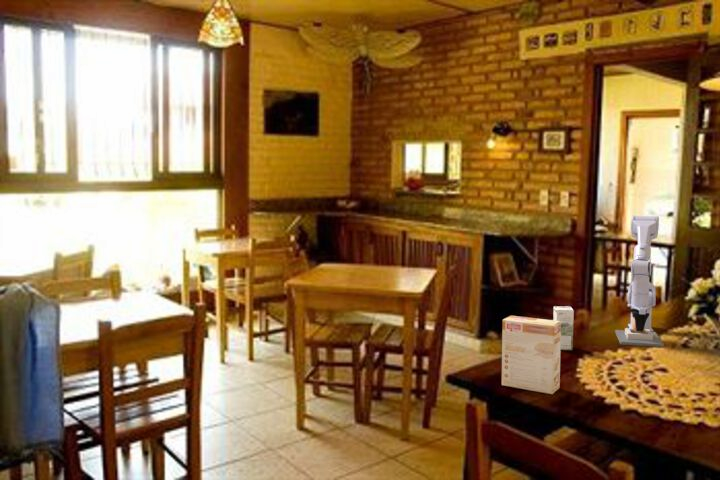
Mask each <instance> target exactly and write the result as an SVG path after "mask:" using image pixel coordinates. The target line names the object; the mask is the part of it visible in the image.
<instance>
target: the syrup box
mask: <svg viewBox="0 0 720 480" xmlns="http://www.w3.org/2000/svg"><path fill="white" fill-rule="evenodd" d="M574 313H575V310H574V309H573V308H572V306H569V305H568V306H567V305H566V306H557V305H554V306H553V318H552V320H555V321H561V348H560V351H573V342H574V340H573V339H574Z"/></svg>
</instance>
